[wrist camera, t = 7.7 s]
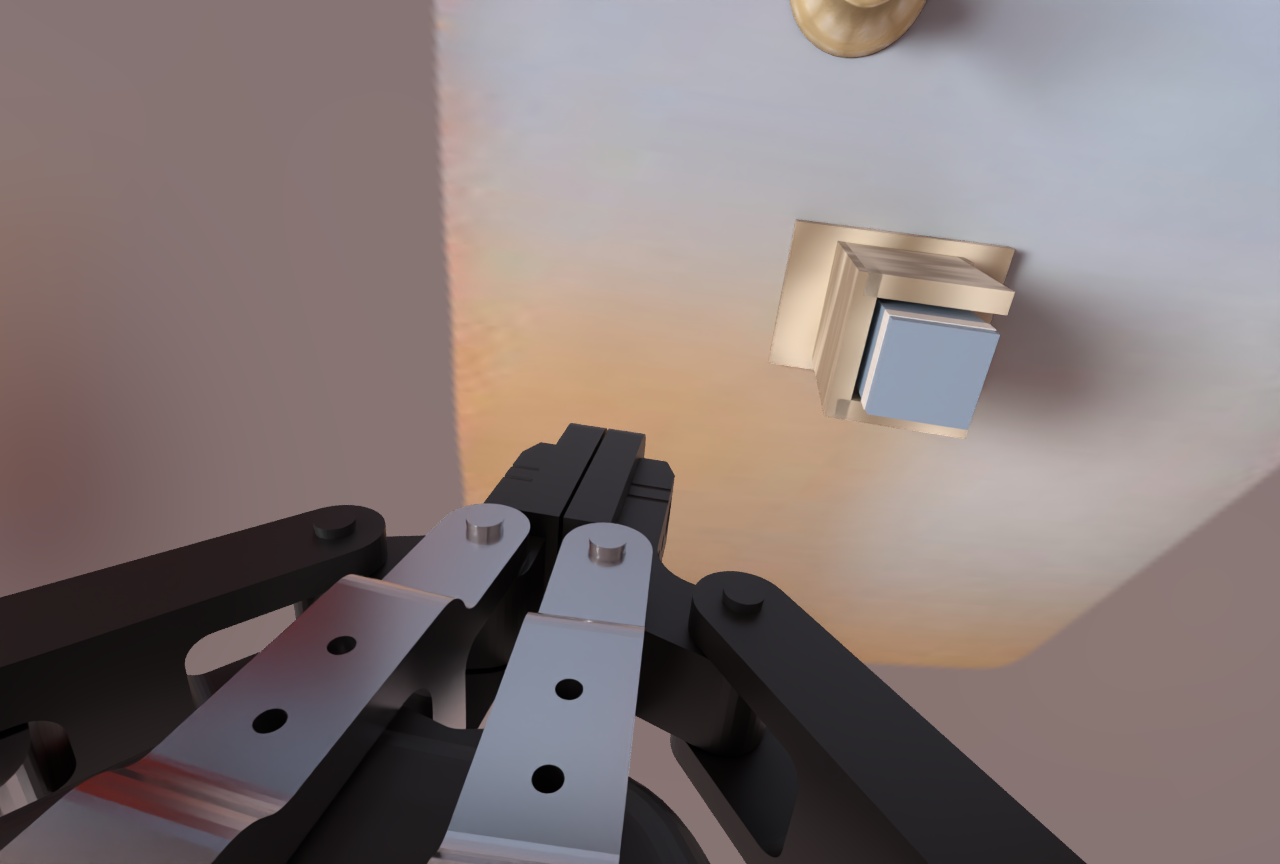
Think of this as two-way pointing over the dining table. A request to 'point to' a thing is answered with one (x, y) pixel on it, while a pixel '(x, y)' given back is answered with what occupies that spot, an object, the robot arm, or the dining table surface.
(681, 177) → the dining table surface
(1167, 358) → the dining table surface
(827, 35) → the hand bell
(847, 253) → the tan frame
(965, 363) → the block
